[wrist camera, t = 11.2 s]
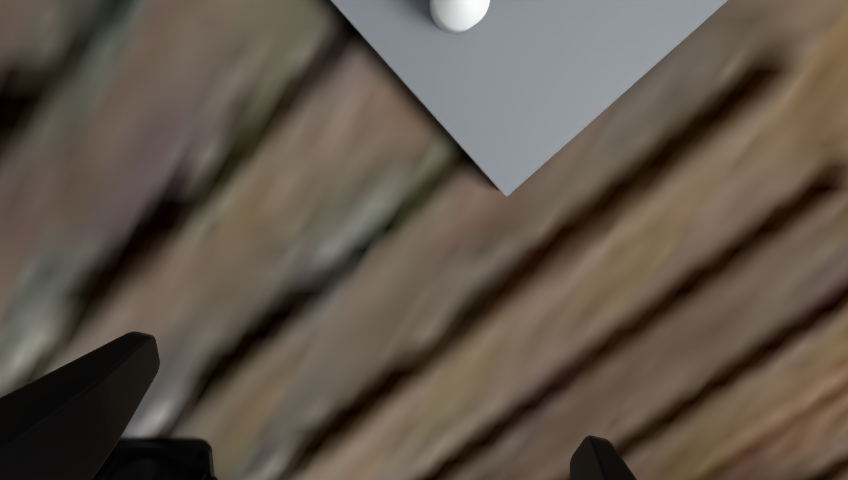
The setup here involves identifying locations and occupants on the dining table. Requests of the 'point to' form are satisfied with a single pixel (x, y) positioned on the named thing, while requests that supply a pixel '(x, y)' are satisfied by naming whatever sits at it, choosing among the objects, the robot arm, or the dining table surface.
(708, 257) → the dining table surface
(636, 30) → the peg board
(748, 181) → the dining table surface
